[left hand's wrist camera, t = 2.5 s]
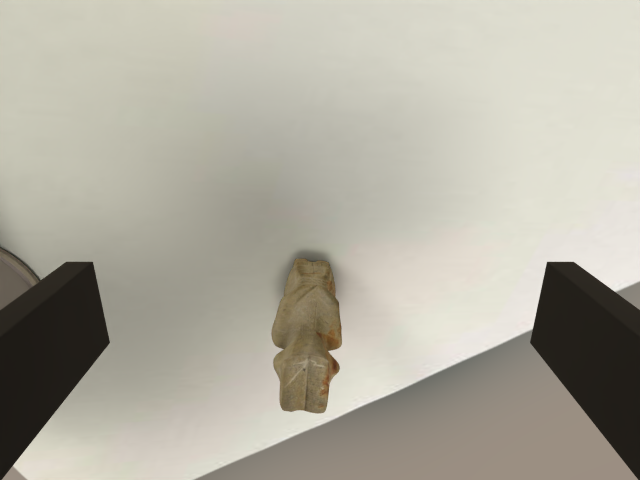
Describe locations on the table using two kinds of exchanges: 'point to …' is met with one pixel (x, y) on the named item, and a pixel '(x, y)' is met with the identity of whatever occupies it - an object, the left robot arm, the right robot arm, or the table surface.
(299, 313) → the sculpture
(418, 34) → the table surface
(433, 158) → the table surface
